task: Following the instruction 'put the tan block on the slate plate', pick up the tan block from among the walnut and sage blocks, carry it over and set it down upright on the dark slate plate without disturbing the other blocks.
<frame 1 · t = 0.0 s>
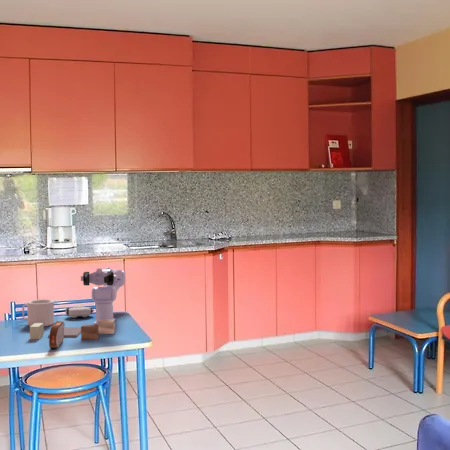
hand: (95, 279, 230), 22 cm above the table, tool horizontal, fingers open, 7 cm apart
tan block: (106, 333, 233), on the table
walnut block: (90, 338, 225), on the table
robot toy: (79, 316, 264), on the table
slate plate: (66, 333, 232), on the table
tin: (57, 345, 214), on the table
mug: (37, 324, 248), on the table
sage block: (37, 337, 226), on the table
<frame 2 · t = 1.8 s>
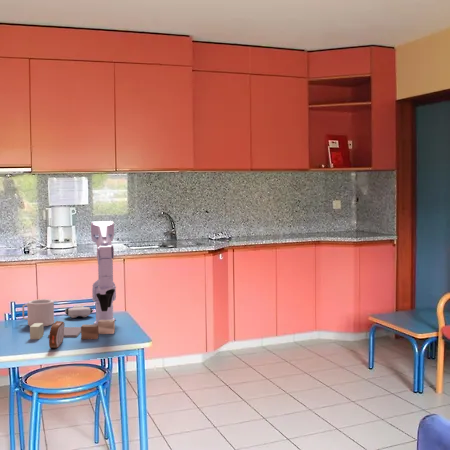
hand: (106, 309, 232), 10 cm above the table, tool pointing down, fingers open, 7 cm apart
nothing on the table moved.
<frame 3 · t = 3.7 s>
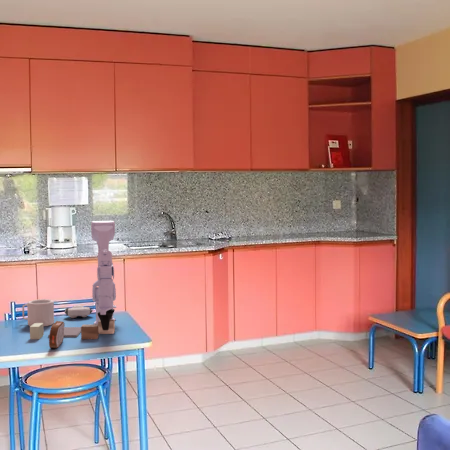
hand: (106, 328, 233), 2 cm above the table, tool pointing down, fingers closed on tan block, 3 cm apart
tan block: (106, 332, 233), on the table, touching gripper
everything else where it was.
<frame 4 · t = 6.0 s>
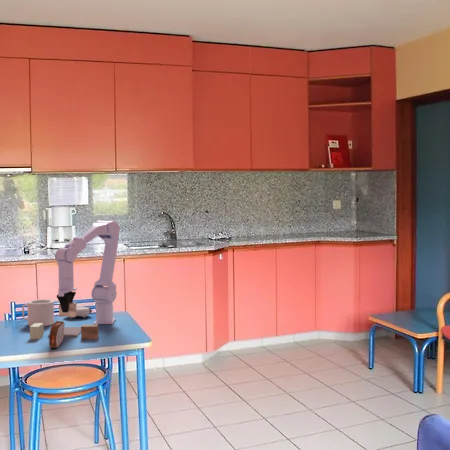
hand: (66, 311, 232), 9 cm above the table, tool pointing down, fingers closed on tan block, 3 cm apart
tan block: (67, 315, 232), point 7 cm above the table, touching gripper
everything else where it was.
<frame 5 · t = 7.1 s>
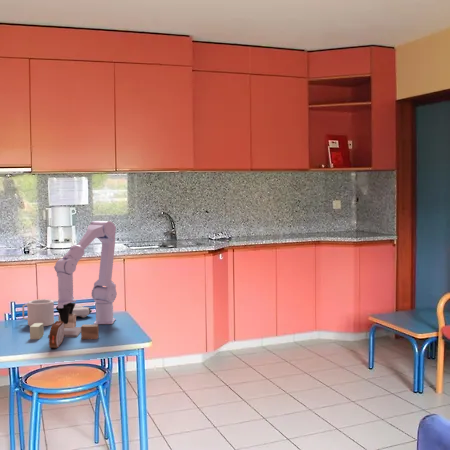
hand: (66, 322, 232), 4 cm above the table, tool pointing down, fingers closed on tan block, 3 cm apart
tan block: (67, 327, 232), point 2 cm above the table, touching gripper
everything else where it was.
when the fingers open (3 cm above the table, at t = 8.1 s): tan block stays where it is, resting on slate plate.
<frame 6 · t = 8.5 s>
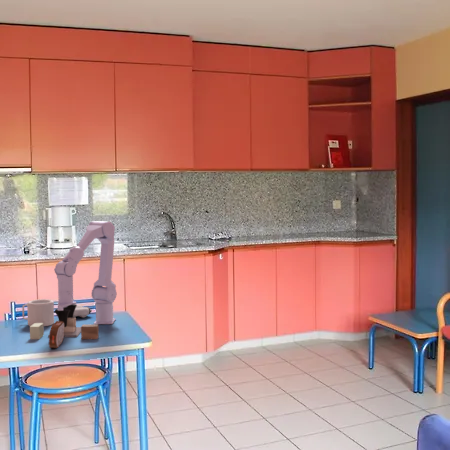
hand: (66, 324, 232), 3 cm above the table, tool pointing down, fingers open, 7 cm apart
tan block: (67, 331, 232), point 1 cm above the table, touching slate plate
everything else where it was.
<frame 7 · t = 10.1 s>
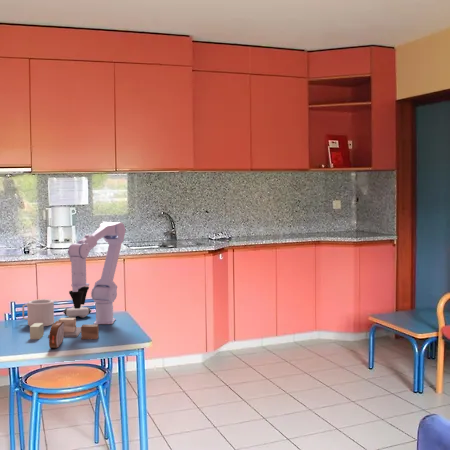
hand: (79, 306, 234), 10 cm above the table, tool pointing down, fingers open, 7 cm apart
nothing on the table moved.
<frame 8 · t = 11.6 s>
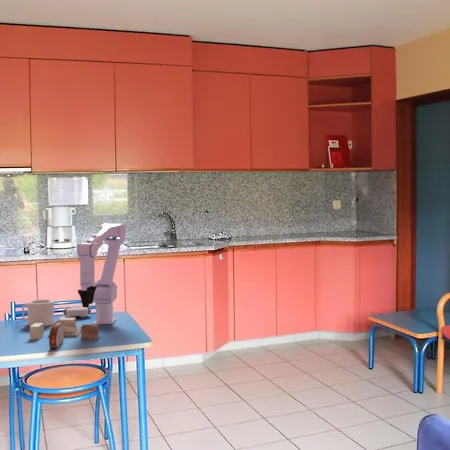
hand: (87, 305, 235), 10 cm above the table, tool pointing down, fingers open, 7 cm apart
nothing on the table moved.
at the end: tan block inside the target area on the slate plate (0.4 cm from its centre), point 0.8 cm above the slate plate's base; tan block tilted 0°; walnut block moved 0.1 cm from its start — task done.
